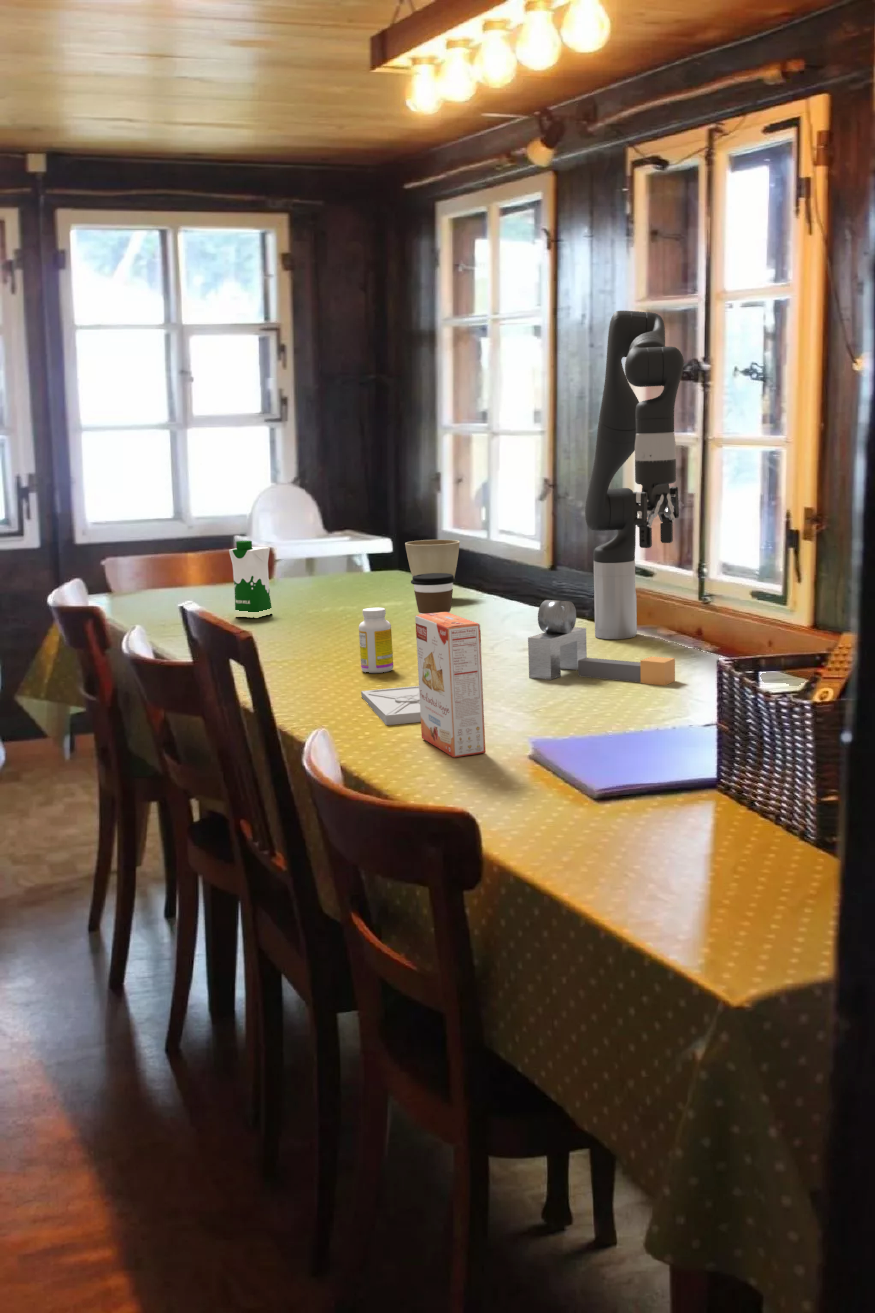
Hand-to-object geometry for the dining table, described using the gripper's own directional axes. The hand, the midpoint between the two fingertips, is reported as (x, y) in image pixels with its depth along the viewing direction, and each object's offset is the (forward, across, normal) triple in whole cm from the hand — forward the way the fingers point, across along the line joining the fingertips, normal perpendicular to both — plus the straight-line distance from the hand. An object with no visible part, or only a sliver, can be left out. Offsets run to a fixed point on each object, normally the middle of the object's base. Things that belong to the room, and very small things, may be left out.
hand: (656, 545), depth 259 cm
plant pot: (+26, +71, +104) cm, 129 cm away
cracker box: (+26, -58, +7) cm, 64 cm away
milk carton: (+26, +30, +133) cm, 139 cm away
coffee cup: (+26, +38, +80) cm, 92 cm away
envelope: (+27, -38, +30) cm, 56 cm away
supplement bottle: (+26, -14, +57) cm, 64 cm away
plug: (+26, 0, +7) cm, 27 cm away
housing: (+26, 0, +22) cm, 34 cm away
